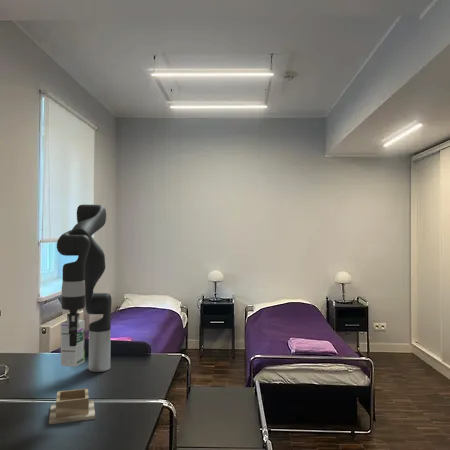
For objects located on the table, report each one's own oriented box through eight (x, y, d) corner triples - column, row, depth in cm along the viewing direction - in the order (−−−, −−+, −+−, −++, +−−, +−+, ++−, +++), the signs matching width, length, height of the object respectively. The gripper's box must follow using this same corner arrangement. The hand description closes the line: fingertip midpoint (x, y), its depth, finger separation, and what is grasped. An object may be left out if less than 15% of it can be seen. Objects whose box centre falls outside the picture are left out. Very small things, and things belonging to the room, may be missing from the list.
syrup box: (76, 367, 146) (76, 322, 146) (59, 365, 147) (60, 321, 147) (85, 361, 151) (85, 319, 151) (69, 360, 152) (69, 318, 153)
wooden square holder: (51, 407, 153) (51, 390, 153) (93, 402, 158) (93, 385, 158) (48, 424, 140) (49, 405, 140) (95, 418, 144) (95, 400, 144)
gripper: (85, 296, 144) (85, 347, 144) (84, 290, 157) (84, 337, 157) (60, 297, 141) (60, 349, 141) (62, 291, 155) (61, 338, 155)
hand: (73, 343), depth 149 cm, fingers closed on syrup box, 7 cm apart
